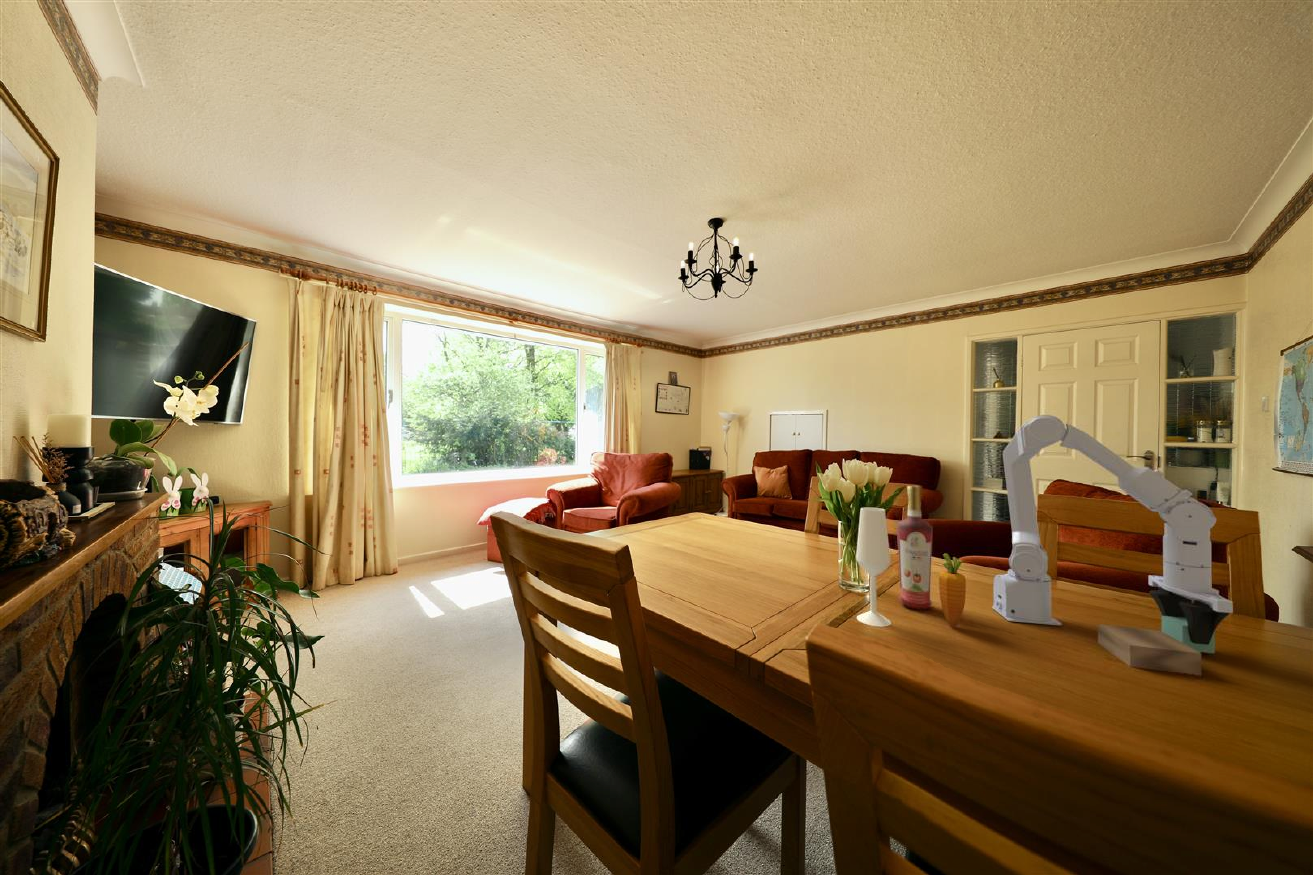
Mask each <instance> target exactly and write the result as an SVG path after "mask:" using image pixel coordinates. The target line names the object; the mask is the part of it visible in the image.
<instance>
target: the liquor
mask: <svg viewBox="0 0 1313 875" xmlns="http://www.w3.org/2000/svg"><path fill="white" fill-rule="evenodd" d="M921 489H922V488H921V486H919V485H907V497H908V503H907V504H908V505H907V512H906V513H907V516H906V518H905V519H903V520H900V521H899V522H897V523H896V535H897V537H896V538H897V539H896V540H897V553H898V565H899V566H898V567H899V585H900V587H899V588H900V591H899V592H900V593H899V596H898V598H897V599H898V600H899V601H900V602H901V603H902V604H903V605H904V606H905V607H906V608H909V609H912V610H916V611H924V610H927V609H928V608H929V607H931V606H932V605H933V601H932V600H931V577H932V576H931V571H932V570H931V569H932V568H931V567H932V556H933V532H934V531H933V529H934V527H933V525H932V524H930V523H929V522H927V521H926V520H925V521H924V520H923V519H922V509H921V495H922V493H921Z"/></svg>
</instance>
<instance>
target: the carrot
mask: <svg viewBox="0 0 1313 875" xmlns="http://www.w3.org/2000/svg"><path fill="white" fill-rule="evenodd" d="M942 556H943V558H944V559H945V562H942V563H941V564H942V565H943V566H944V568H946V570H943V571H941V572H940V573H939V575H938V586H939V587H938V589H939V599H940V605H941V609H942V612H943V615H944V617H945V620H946V621H947V623H948V625H949V626H950V627H951V628H953V629H954V628H955V627H957V626H958V624H959V622H960V620H961V619H962V616H963V614H964V609H965V604H966V592H967V591H966V590H967V588H966V587H967V585H966V584H967V582H966V576H965V575H964V574H962V573H960V572H958V570H959V568H960V566H961V565H962V564H963V560H961V559H959V560H958V558H957V557H955V556H954V557H952V559H951V557H950V556H949V554H948V553H944V554H943V555H942Z"/></svg>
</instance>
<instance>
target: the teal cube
mask: <svg viewBox="0 0 1313 875" xmlns="http://www.w3.org/2000/svg"><path fill="white" fill-rule="evenodd" d="M1160 617H1161V619H1160V620H1161V631H1162V632H1163V633H1165V634H1167V635H1169V636H1171V637H1172V638H1174V639H1176V640H1178V641H1180V642H1182V643H1183V644H1185V645H1187V646H1189V647H1191V648H1192V649H1194V650H1196V651H1198V652H1200V653H1206V654H1207V653H1208V654H1215V653H1216V649H1215V648H1216V646H1215V644H1216V642H1215V640H1216V639H1215V638H1216V634H1215V632H1216V630H1215V631H1214V633H1213V636H1212V638H1211V641H1210V643H1209V645H1206V644H1195V643H1193V642H1191V640H1190V636H1189V631H1188V623H1187V619H1186V618H1184V617H1171V616H1162V615H1161V616H1160Z"/></svg>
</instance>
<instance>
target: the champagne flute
mask: <svg viewBox="0 0 1313 875" xmlns="http://www.w3.org/2000/svg"><path fill="white" fill-rule="evenodd" d="M859 511H860V512H859V521H858V522H859V523H858V532H857V542H856V544H857V545H856V552H855V553H856V556H855V560H856V562H857V564H858V565H859V566H860V567H861V569H863V571H864V572H865V573H867V574H868V575H869V576H870V577H869V578H870V580H869V581H870V582H869V583H870V584H869V586H870V587H869V588H870V590H869V591H870V592H869V594H870V595H869V596H870V598H869V599H870V600H869V601H870V610H869V611H867V612H863V613H861V614H859V615H857V616H856V619H857V621H859V622H860V623H862V624H864V625H868V626H872V627H882V628H883V627H888V626H890V625H891V624H892V622H891V620H890V619H888V618H886V616H884V615H883V614H881V613H879V612H878V611H877V576H879V575H881V574H882V573H883V572H884V571H886V570H887V569H888V568H889V567H890V565H891V553H890V552H891V551H890V543H889V536H888V527H887V517H886V509H884V508H879V507H869V506H868V507H861V508H860V510H859Z"/></svg>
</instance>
